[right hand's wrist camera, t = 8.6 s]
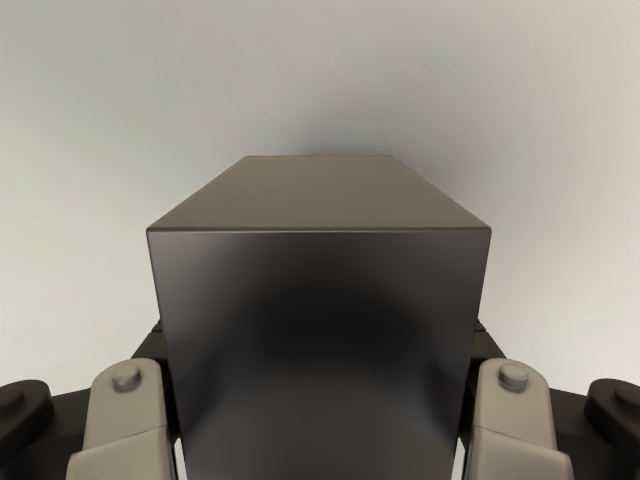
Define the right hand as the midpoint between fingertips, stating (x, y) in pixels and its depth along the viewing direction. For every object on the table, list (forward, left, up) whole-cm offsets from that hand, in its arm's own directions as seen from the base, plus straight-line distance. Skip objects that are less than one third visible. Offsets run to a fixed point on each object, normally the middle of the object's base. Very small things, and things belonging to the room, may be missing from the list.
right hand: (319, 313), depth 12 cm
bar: (+8, +4, -5) cm, 10 cm away
